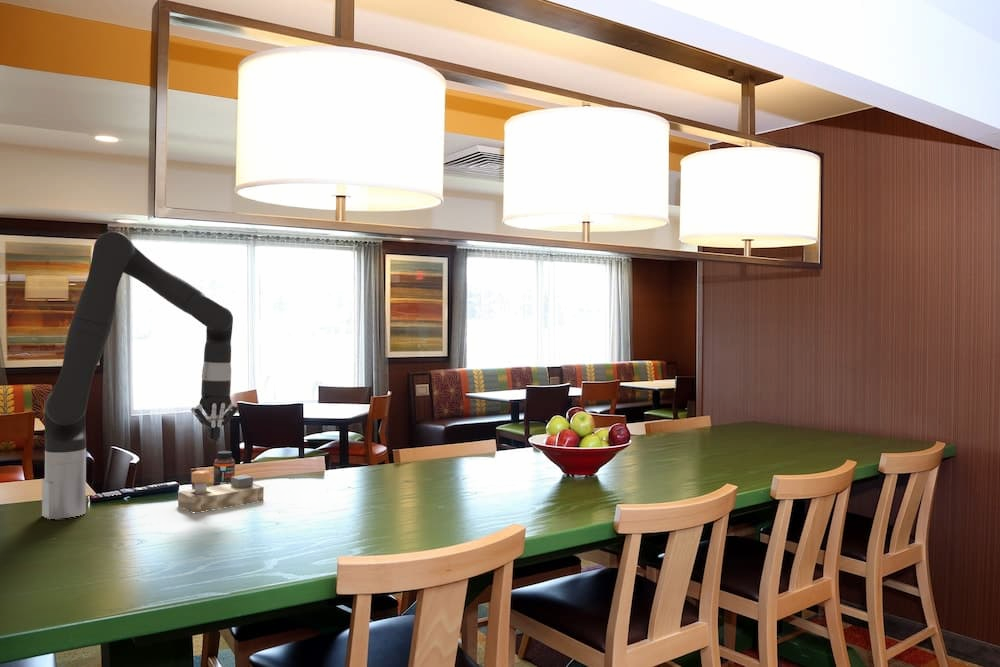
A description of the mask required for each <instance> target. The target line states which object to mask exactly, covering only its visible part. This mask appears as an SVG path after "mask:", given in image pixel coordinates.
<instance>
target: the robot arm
mask: <svg viewBox="0 0 1000 667" xmlns="http://www.w3.org/2000/svg"><path fill="white" fill-rule="evenodd" d="M123 274H126V275H127V276H130V277H132V278H134V279H136V280H137V281H139V282H141V283H142V284H144V285H145V286H147V288H150V289H151V290H152V291H154V292H155V293H156V294H158V295H159V296H160V297H162V299H164V300H166V301H167V302H168V303H170V304H172V305H174V307H176V308H178V309H179V310H181V311H182V312H184V313H186V314H188V315H190V316H191V317H192V318H194V319H196V321H198V322H199V323H201V324H202V325H203V326H205V327H206V331H205V332H206V340H205V344H204V351H203V365H202V372H201V393H200V394H201V397H200V401H199V404H197V405H196V406H195V407H191V412H192V414H193V415H194V416H195V418H196V419H197V420H198V422H199V423H200V424H201V425H202V426H206V427H207V439H208V440H209V441H210V442H217V441H219V439H220V437H221V427H223V426H224V425H225V426H226V425H228V424H229V422H230V421H231V420H232V418H233V417H234V415H235V414H236V413H237V411H238V410H239V408H238V406H235V405H234V404H233V403H232V400H231V397H230V396H231V384H232V363H231V361H232V336H233V335H232V334H233V326H234V325H233V323H234V316H233V314H232V312H231V311H230V310H229V309H228V308H227V307H224V306H223V305H221V304H219V303H218V302H216V301H214V300H212V299H211V298H210V297H208V296H206V295H205V294H204V293H203V292H202V291H201V290H200V289H198V288H196V287H195V286H193V285H192V284H190V283H189V282H188V281H186V280H184V279H182V278H181V277H179V276H177V275H175V274H173V273H172V272H170V271H169V270H167V269H165V268H163V267H162V266H159V265H158V264H157V263H155V262H153V261H152V260H151V259H150V258H148V257H147V256H146V255H145V254H144V253H142V251H141V250H139V249H138V248H137V247H136V246H135V245H134V244H133V242H132V240H131V239H130V238H129V237H127V235H125V234H123V233H121V232H120V231H114V230H112V231H111V230H110V231H108V232H105V233H102V234H101V235H100V236H98V237H97V239H96V240H95V242H94V244H93V250H92V256H91V262H90V266H89V270H88V275H87V279H86V282H85V284H84V287H83V290H82V291H81V294H80V296H79V299H78V302H77V304H76V306H75V309H74V312H73V316H72V318H71V322H70V325H69V328H68V330H67V331H68V332H67V335H66V340H65V346H64V351H63V361H62V367H61V368H60V369H61V370H60V373H59V374H58V377H57V381H56V382H55V385H54V387H53V390H52V391H51V392H50V393H49V394H48V395H47V397H46V398H45V401H44V402H45V403H44V478H42V481H41V516H42V517H44V518H45V519H46V518H47V519H46V520H48V519H49V520H48V521H51V520H50V519H55V520H61V519H60V518H69V517H74V518H76V517H75V516H79V517H81V516H83V514H84V515H85V514H86V513H87V512H86V508H87V503H86V500H87V498H86V497H87V496H86V493H87V490H86V488H87V487H86V486H87V434H86V433H87V432H86V431H87V430H86V415H87V414H86V413H87V412H86V411H87V408H88V403H89V402H88V401H89V397H90V390H91V386H92V381H93V377H94V374H95V371H96V369H97V366H98V365H99V363H100V360H101V358H102V355H103V354H104V350H105V347H106V345H107V342H108V339H109V336H110V333H111V331H112V330H111V329H112V326H113V322H114V318H115V311H116V304H117V303H116V302H117V294H118V293H117V292H118V287H119V284H120V281H121V280H122V276H123ZM203 412H204V413H205V414H206V416H205V415H204V414H203ZM80 515H81V516H80ZM69 519H70V518H69Z"/></svg>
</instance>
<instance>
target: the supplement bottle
mask: <svg viewBox="0 0 1000 667" xmlns="http://www.w3.org/2000/svg"><path fill="white" fill-rule="evenodd" d="M232 453H233V452H232V451H230V450H221V451H218V452H217V458H215V459H214V462H213V486H217V485H223V484H230V483H231V477H233V476H236V475H235V473H236V472H235V471H236V470H235V468H236V463H235V462H236V461H235V459H234V458H233V456H232Z"/></svg>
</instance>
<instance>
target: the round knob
mask: <svg viewBox="0 0 1000 667" xmlns="http://www.w3.org/2000/svg"><path fill="white" fill-rule="evenodd" d="M210 481H211V471H209V470H195V471H192V472H191V483H192V484H193V483H194V489H195V495H196V496H197V495H203V494H207V487H208V486H207V485H208V482H210Z"/></svg>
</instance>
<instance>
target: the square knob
mask: <svg viewBox="0 0 1000 667" xmlns="http://www.w3.org/2000/svg"><path fill="white" fill-rule="evenodd" d="M253 483H254V477H253V476H251V475H247V474H240V475H235V476H233V477H231V485H232V486H234V487H235V488H238V489H239V488H245V487H249V486H253Z"/></svg>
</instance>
